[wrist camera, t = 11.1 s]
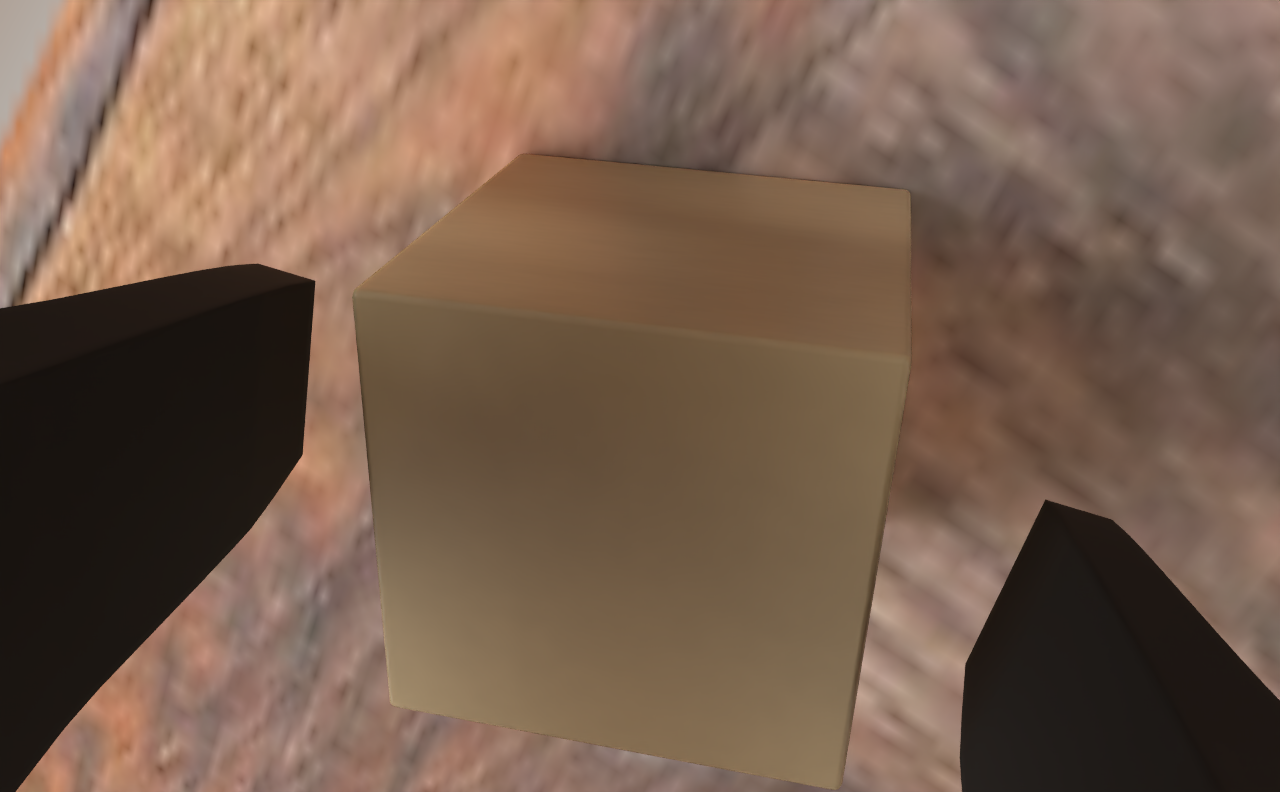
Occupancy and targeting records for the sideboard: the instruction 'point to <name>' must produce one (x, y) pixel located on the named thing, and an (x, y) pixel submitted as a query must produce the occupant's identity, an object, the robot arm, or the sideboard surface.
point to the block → (639, 456)
